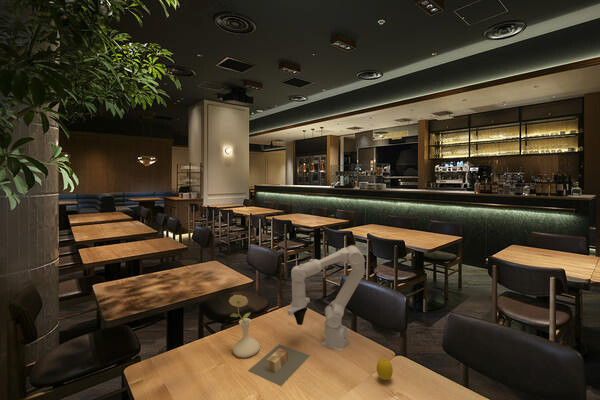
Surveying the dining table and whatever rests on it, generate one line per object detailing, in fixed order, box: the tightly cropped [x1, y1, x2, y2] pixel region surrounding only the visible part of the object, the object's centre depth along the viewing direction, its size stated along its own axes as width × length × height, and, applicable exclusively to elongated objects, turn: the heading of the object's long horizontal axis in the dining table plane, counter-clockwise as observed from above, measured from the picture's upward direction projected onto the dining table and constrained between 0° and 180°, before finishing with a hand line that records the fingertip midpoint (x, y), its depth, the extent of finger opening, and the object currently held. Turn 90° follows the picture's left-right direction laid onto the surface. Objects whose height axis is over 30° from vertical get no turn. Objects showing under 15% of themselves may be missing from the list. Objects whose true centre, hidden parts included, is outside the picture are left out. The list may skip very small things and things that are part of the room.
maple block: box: [267, 348, 288, 373], centre depth 115 cm, size 4×4×8 cm
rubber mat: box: [247, 343, 311, 387], centre depth 116 cm, size 16×20×1 cm
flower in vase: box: [228, 294, 261, 358], centre depth 124 cm, size 13×11×25 cm
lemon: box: [376, 358, 394, 381], centre depth 105 cm, size 6×6×8 cm
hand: (299, 324), depth 128 cm, fingers closed
